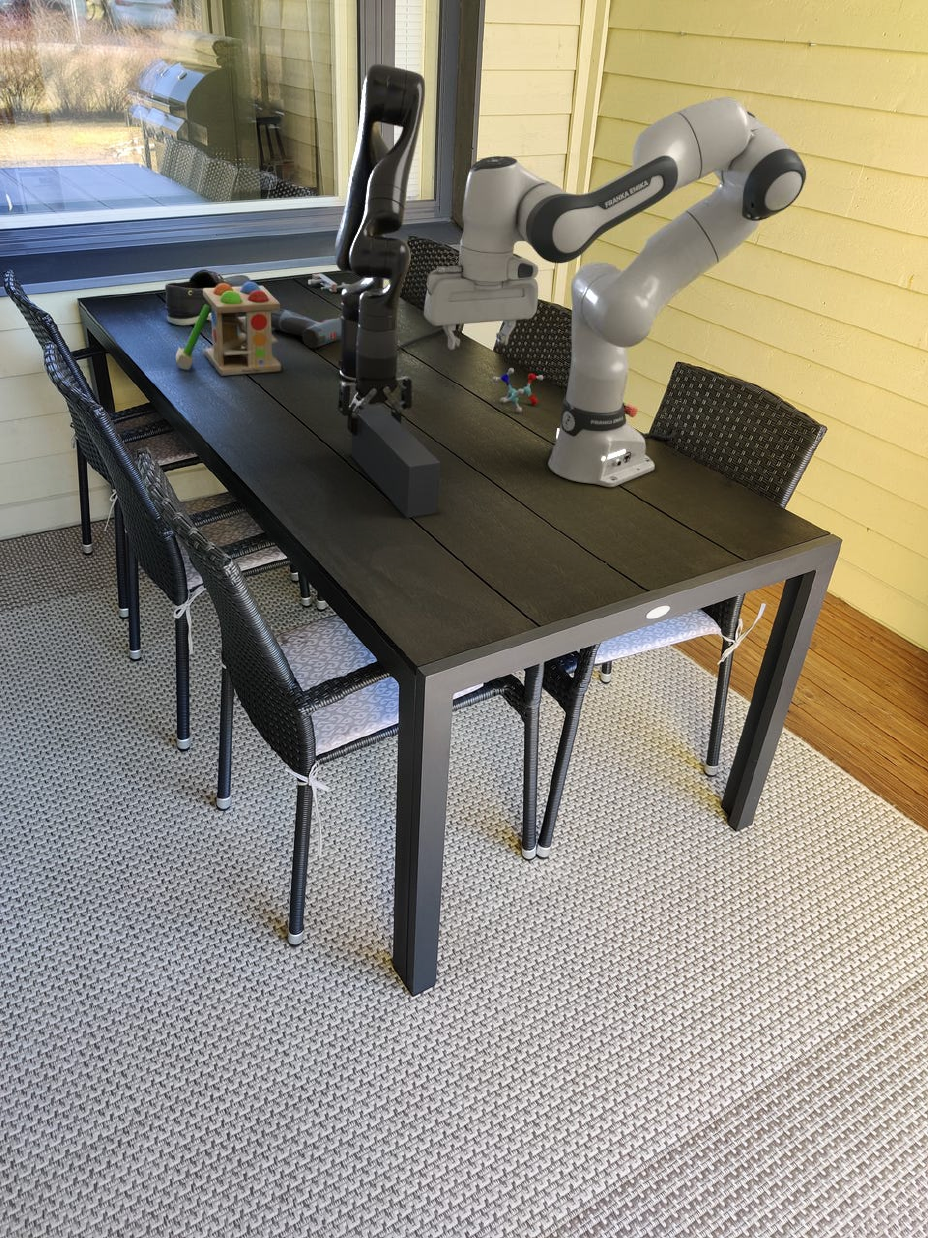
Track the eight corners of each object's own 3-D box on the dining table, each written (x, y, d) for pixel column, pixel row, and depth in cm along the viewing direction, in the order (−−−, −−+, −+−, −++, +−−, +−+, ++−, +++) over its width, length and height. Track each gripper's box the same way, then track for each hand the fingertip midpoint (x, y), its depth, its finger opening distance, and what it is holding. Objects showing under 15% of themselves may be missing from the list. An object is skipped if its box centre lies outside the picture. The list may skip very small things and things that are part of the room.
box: (351, 455, 196) (352, 407, 190) (379, 452, 198) (381, 404, 192) (406, 518, 176) (409, 466, 170) (436, 513, 179) (440, 462, 173)
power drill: (305, 316, 264) (364, 334, 256) (257, 332, 251) (318, 351, 243) (305, 296, 261) (365, 314, 253) (257, 311, 248) (318, 330, 240)
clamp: (303, 274, 289) (334, 272, 294) (303, 281, 290) (334, 279, 295) (323, 288, 279) (355, 286, 283) (323, 296, 280) (355, 294, 285)
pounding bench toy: (183, 379, 220) (176, 299, 210) (169, 357, 231) (162, 280, 221) (282, 371, 230) (280, 294, 220) (264, 350, 240) (262, 276, 230)
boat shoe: (273, 303, 272) (271, 265, 267) (185, 327, 248) (181, 285, 243) (238, 295, 278) (236, 257, 272) (149, 317, 254) (144, 276, 249)
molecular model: (539, 404, 216) (525, 360, 215) (500, 418, 220) (486, 375, 218) (551, 402, 227) (538, 360, 225) (514, 416, 230) (501, 374, 229)
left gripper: (348, 359, 176) (347, 443, 185) (420, 353, 181) (415, 434, 191) (333, 346, 181) (332, 428, 190) (403, 340, 187) (400, 420, 196)
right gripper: (436, 272, 155) (431, 357, 163) (547, 266, 164) (536, 347, 172) (420, 261, 160) (415, 344, 168) (528, 256, 168) (519, 335, 176)
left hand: (374, 431), depth 190 cm, fingers open, 8 cm apart
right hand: (477, 346), depth 170 cm, fingers open, 8 cm apart
